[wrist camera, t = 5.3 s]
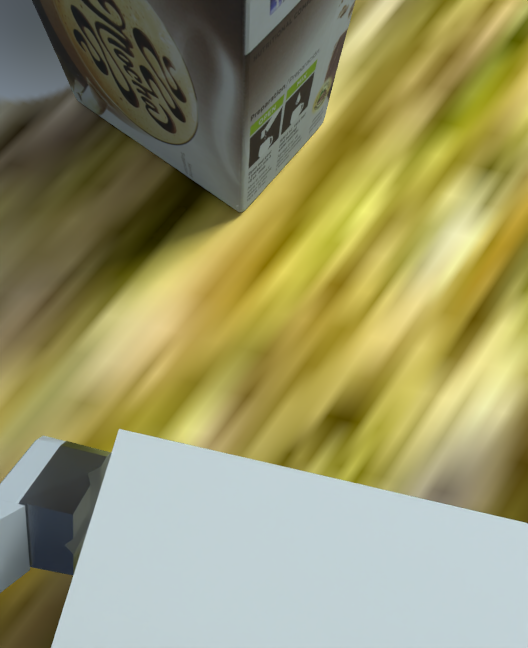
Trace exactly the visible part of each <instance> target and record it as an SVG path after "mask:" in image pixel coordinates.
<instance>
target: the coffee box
mask: <svg viewBox="0 0 528 648" xmlns="http://www.w3.org/2000/svg"><path fill="white" fill-rule="evenodd" d="M32 1H33V4H34V6H35V8H36V10H37V12H38V15H39V17H40V19H41V21H42V23H43V25H44V28H45V30H46V32H47V34H48V37H49V39H50V41H51V43H52V46H53V48H54V50H55V52H56V54H57V57H58V59H59V61H60V63H61V66H62V68H63V70H64V72H65V75H66V77H67V79H68V82H69V84H70V87H71V89H72V91H73V93H74V95H75V97H76V99H77V100H78V101H79V102H80V103H82V104H83V105H85V106H86V107H87V108H89V109H90V110H92V111H93V112H95V113H96V114H97V115H99V116H100V117H102V118H103V119H105V120H106V121H107V122H109V123H110V124H112V125H113V126H115V127H116V128H118V129H119V130H120V131H122V132H123V133H125V134H126V135H128V136H129V137H131V138H132V139H134V140H135V141H137V142H138V143H139V144H141V145H142V146H144V147H145V148H147V149H148V150H150V151H151V152H153V153H154V154H155V155H157V156H158V157H160V158H161V159H163V160H164V161H166V162H167V163H169V164H170V165H171V166H173V167H174V168H176V169H177V170H179V171H180V172H182V173H183V174H184V175H186V176H187V177H189V178H190V179H192V180H193V181H194V182H196V183H197V184H199V185H200V186H202V187H203V188H205V189H206V190H208V191H209V192H211V193H212V194H213V195H215V196H216V197H218V198H219V199H221V200H222V201H224V202H225V203H226V204H228V205H229V206H231V207H232V208H234V209H235V210H237V211H238V212H243V211H245V210H246V209H247V207H248V206H249V205H250V204H251V203H252V202H253V201H254V200H255V199H256V198H257V197H258V195H259V194H260V193H261V192H262V191H263V190H264V189H265V187H266V186H267V185H268V184H269V183H270V182H271V181H272V180H273V179H274V178H275V177H276V176H277V174H278V173H279V172H280V171H281V170H282V169H283V168H284V166H285V165H286V164H287V163H288V162H289V161H290V160H291V159H292V158H293V156H294V155H295V154H296V153H297V152H298V151H299V150H300V149H301V148H302V146H303V145H304V144H305V143H306V142H307V141H308V140H309V138H310V137H311V136H312V135H313V134H314V133H315V132H316V130H317V129H318V128H319V127H320V126H321V124H322V123H323V121H324V118H325V114H326V110H327V106H328V102H329V98H330V94H331V90H332V86H333V82H334V78H335V74H336V70H337V67H338V63H339V59H340V56H341V52H342V48H343V44H344V40H345V37H346V33H347V29H348V26H349V23H350V19H351V15H352V11H353V7H354V3H355V0H32Z"/></svg>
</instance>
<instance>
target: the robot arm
mask: <svg viewBox="0 0 528 648" xmlns="http://www.w3.org/2000/svg"><path fill="white" fill-rule="evenodd" d="M111 454H112V453H111V452H107V451H103V450H99V449H95V448H91V447H88V446H84V445H80V444H76V443H72V442H68V441H63V440H59V439H55V438H51V437H47V436H42V437H40V438H39V439H37V440H36V441H35V442H34V443H33V444H32V445H31V447H30V448H29V449H28V450H27V451H26V453H25V454H24V455H23V456H22V458H21V459H20V460H19V461H18V462H17V464H16V465H15V466H14V467H13V469H12V470H11V471H10V472H9V473H8V475H7V476H6V477H5V478H4V479H3V481H2V482H1V483H0V593H1V592H2V591H3V590H5V589H6V588H7V587H8V586H10V585H11V584H12V583H14V582H15V581H16V580H17V579H19V578H20V577H21V576H23V575H24V574H25V573H27V572H28V571H29V570H30V567H33V568H38V569H43V570H49V571H54V572H59V573H64V574H69V575H74V572H75V569H76V566H77V563H78V559H79V556H80V553H81V550H82V547H83V543H84V540H85V537H86V534H87V531H88V527H89V524H90V521H91V518H92V515H93V511H94V508H95V505H96V502H97V499H98V495H99V492H100V489H101V486H102V482H103V479H104V476H105V473H106V470H107V466H108V463H109V460H110V457H111Z"/></svg>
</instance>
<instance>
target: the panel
mask: <svg viewBox="0 0 528 648" xmlns="http://www.w3.org/2000/svg"><path fill="white" fill-rule="evenodd" d="M51 648H528V523H525V522H520V521H516V520H512V519H507V518H503V517H499V516H495V515H490V514H486V513H482V512H477V511H473V510H469V509H465V508H460V507H456V506H452V505H447V504H443V503H439V502H434V501H430V500H426V499H422V498H417V497H413V496H409V495H404V494H400V493H396V492H391V491H387V490H383V489H379V488H374V487H370V486H366V485H361V484H357V483H353V482H348V481H344V480H340V479H335V478H331V477H327V476H322V475H318V474H314V473H309V472H305V471H301V470H296V469H292V468H288V467H283V466H279V465H275V464H270V463H266V462H262V461H257V460H253V459H249V458H244V457H240V456H236V455H231V454H227V453H223V452H218V451H214V450H210V449H205V448H201V447H197V446H192V445H188V444H184V443H179V442H175V441H170V440H166V439H161V438H157V437H152V436H148V435H143V434H139V433H135V432H130V431H126V430H121V429H119V431H118V434H117V438H116V441H115V444H114V447H113V450H112V454H111V457H110V460H109V463H108V466H107V470H106V473H105V476H104V479H103V482H102V486H101V489H100V492H99V495H98V499H97V502H96V505H95V508H94V511H93V515H92V518H91V521H90V524H89V527H88V531H87V534H86V537H85V540H84V543H83V547H82V550H81V553H80V556H79V559H78V563H77V566H76V569H75V572H74V575H73V579H72V582H71V585H70V588H69V591H68V595H67V598H66V601H65V604H64V608H63V611H62V614H61V617H60V620H59V624H58V627H57V630H56V633H55V636H54V640H53V643H52V646H51Z"/></svg>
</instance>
